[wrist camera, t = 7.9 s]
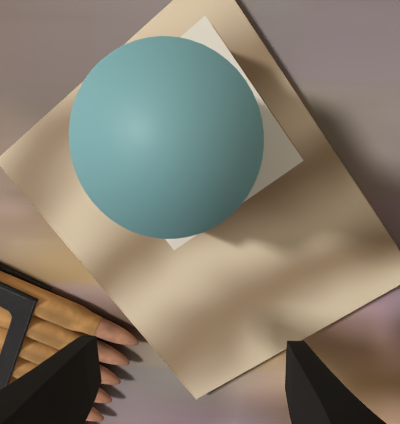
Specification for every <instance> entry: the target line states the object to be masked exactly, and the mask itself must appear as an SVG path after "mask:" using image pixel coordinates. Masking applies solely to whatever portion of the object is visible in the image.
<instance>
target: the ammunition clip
mask: <svg viewBox="0 0 400 424" xmlns="http://www.w3.org/2000/svg"><path fill="white" fill-rule="evenodd" d="M50 289H51V288H50V287H48V286H46V285H44V284H42V283H40V282H38V281H35V280H33V279H31V278H29V277H27V276H25V275H22V274H20V273H18V272H16V271H14V270H12V269H10V268H7V267H5V266H3V265H1V264H0V390H1V389H3V388H4V387H6V386H7V385H9V384H10V383H12V382H13V381H15V380H17V379H18V378H20V377H21V376H23V375H24V374H26V373H27V372H29V371H30V370H32V369H33V368H35V367H36V366H38V365H39V364H41V363H42V362H43V361H45V360H46V359H48V358H49V357H51V356H52V355H53V354H55V353H56V352H58V351H59V350H60V349H62V348H63V347H65V346H66V345H68V344H69V343H70V342H72V341H73V340H75V339H76V338H78V337H80V336H90V335H91V336H96V337H98V338H101V339H103V340H106V341H110V342H113V343H117V344H123V345H138V343H139V342H138V340H137V339H136V338H135V337H134V336H133V335H132V334H131V333H129V332H128V331H127V330H125V329H124V328H122V327H120V326H119V325H117V324H115V323H113V322H111V321H109V320H106V319H104V318H103V317H101V316H99V315H97V314H95V313H93V312H91V311H90V310H88V309H87V308H85V307H84V306H82V305H80V304H77V303H75V302H73V301H70V300H68V299H66V298H63V297H61V296H59V295H56V294H54V293H51V292H50ZM85 333H86V334H85ZM87 334H89V335H87ZM97 346H98V355H99V361H100V362H103V363H107V364H113V365H128V364H129V360H128V359H127V358H126V357H125V356H124V355H123V354H122V353H120V352H119V351H118V350H116V349H115V348H113V347H111V346H110V345H108V344H106V343H104V342H102V341H99V340H97ZM100 371H101V380H102V382H101V383H102V384H110V385H115V384H120V382H121V381H120V379H119V378H118V377H117V376H116V375H115V374H114V373H113V372H111V371H110V370H109V369H107V368H106V367H104V366H102V365H101V364H100ZM94 402H96V403H110V402H112V398H111V397H110V396H109V395H108V394H107V393H106V392H105V391H104V390H102V389H101V388H99V391H98V393H97V396H96V399H95V401H94ZM103 419H104V417H103V415H102V414H101V413H100V412H99V411H98V410H97V409H95V408H94V407H92V409H91V411H90V413H89V415H88V417H87V419H86V421H102V420H103Z"/></svg>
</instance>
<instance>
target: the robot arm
mask: <svg viewBox="0 0 400 424" xmlns="http://www.w3.org/2000/svg"><path fill="white" fill-rule="evenodd" d="M101 382H102V380H101V371H100V363H99V355H98V346H97V338H96V336H80V337H78V338H76V339H75V340H73V341H72V342H70V343H69V344H68V345H66V346H65V347H63V348H62V349H60V350H59V351H58V352H56V353H55V354H53V355H52V356H51V357H49V358H48V359H46V360H45V361H43V362H42V363H41V364H39V365H38V366H36V367H35V368H33V369H32V370H30V371H29V372H27V373H26V374H24V375H23V376H21V377H20V378H18V379H17V380H15V381H13V382H12V383H10V384H9V385H7V386H6V387H4V388H3V389H1V390H0V424H84V423H85V421H86V419H87V417H88V415H89V413H90V411H91V409H92V407H93V404H94V401H95V399H96V396H97V393H98V391H99V388H100V385H101ZM285 390H286V396H287V402H288V408H289V414H290V419H291V422H292V424H386V423H385V422H384V421H383V420H381V419H380V418H379V417H378V416H376V415H375V414H374V413H373V412H372V411H371V410H370V409H368V408H367V407H366V406H365V405H364V404H363V403H362V402H361V401H360V400H359V399H358V398H356V397H355V396H354V395H353V394H352V393H351V392H350V391H349V390H348V389H347V388H346V387H345V386H344V385H343V384H342V383H341V382H340V380H339V379H338V378H337V377H336V376H335V375H334V374H333V373H332V372H331V371H330V370H329V369H328V368H327V367H326V365H325V364H324V363H323V362H322V361H321V360H320V359H319V357H318V356H317V355H316V354H315V353H314V352H313V351H312V349H311V348H310V347H309V346H308V345H307V344H306V343H305V342H304V341H287V351H286V379H285Z"/></svg>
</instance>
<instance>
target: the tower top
mask: <svg viewBox="0 0 400 424" xmlns="http://www.w3.org/2000/svg"><path fill="white" fill-rule="evenodd" d="M180 38H185V39H189V40H192V41H195V42H198V43H201V44H203V45H205V46H207V47H209V48H211V49H213V50H214V51H216V52H218V53H219V54H220V55H222V56H223V57H224V58H226V59H227V60H228V61H229V62H230V63H231V64H232V65H233V66H234V67H235V68H236V69H237V70H238V71H239V72H240V74H241V75H242V76H243V78H244V79H245V80H246V82H247V83H248V85H249V87H250V88H251V90H252V92H253V94H254V96H255V99H256V101H257V104H258V106H259V110H260V113H261V117H262V123H263V130H264V150H263V158H262V163H261V167H260V170H259V174H258V176H257V179H256V181H255V184H254V186H253V187H252V189H251V191H250V193H249V195H248V196H247V198H246V199H245V200H244V202H245V201H246V200H248V199H249V198H250V197H252V196H253V195H255V194H256V193H258V192H259V191H261V190H262V189H263V188H265V187H266V186H268V185H269V184H271V183H272V182H273V181H275V180H276V179H278V178H279V177H281V176H282V175H284V174H285V173H286V172H288V171H289V170H291V169H292V168H294V167H295V166H297V165H298V164H299V163H301V162H302V161H304V160H303V159H302V157H301V156H300V154H299V153H298V151H297V150H296V149H295V147H294V146H293V144H292V143H291V141H290V140H289V138H288V137H287V135H286V134H285V132H284V131H283V129H282V128H281V126H280V125H279V123H278V122H277V121H276V119H275V118H274V116H273V115H272V113H271V112H270V110H269V109H268V107H267V106H266V104H265V103H264V101H263V100H262V98H261V97H260V95H259V94H258V93H257V91H256V90H255V88H254V87H253V85H252V84H251V82H250V81H249V79H248V78H247V76H246V75H245V73H244V72H243V70H242V69H241V67H240V66H239V65H238V63H237V62H236V60H235V59H234V57H233V56H232V54H231V53H230V51H229V50H228V48H227V47H226V45H225V44H224V42H223V41H222V39H221V38H220V37H219V35H218V34H217V32H216V31H215V29H214V28H213V26H212V25H211V23H210V22H209V20H208V19H207V17H206V16H204V17H203V18H202V19H200V20H199V21H198V22H197V23H196V24H195V25H193V26H192V27H191V28H190V29H189V30H188V31H187V32H185V33H184V34H183V35H182V36H181V37H180ZM194 236H196V235H194ZM194 236H190V237H185V238H178V239H165V240H166V241H167V242H168V243H169V245H170V246H171V247H172V249H173V250H176V249H177V248H178V247H180V246H181V245H183V244H184V243H186V242H187V241H189V240H190V239H191V238H193V237H194Z"/></svg>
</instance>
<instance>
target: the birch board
mask: <svg viewBox="0 0 400 424" xmlns="http://www.w3.org/2000/svg"><path fill="white" fill-rule="evenodd" d="M204 16H206V17H207V19H208V20H209V22H210V23H211V25H213V26H214V27H215V29H216V30H217V32H218V33H219V35H220V36H221V38H222V39H223V41H224V42H225V44H226V45H227V47H228V48H229V50H230V51H231V53H232V54H233V55H234V57H235V58H236V60H237V61H238V63H239V64H240V66H241V67H242V69H243V70H244V72H245V73H246V75H247V76H248V78H249V79H250V81H251V82H252V84H253V85H254V86H255V88H256V89H257V91H258V92H259V94H260V95H261V97H262V98H263V100H264V101H265V103H266V104H267V106H268V107H269V109H270V110H271V112H272V113H273V114H274V116H275V117H276V119H277V120H278V122H279V123H280V125H281V126H282V128H283V129H284V131H285V132H286V134H287V135H288V137H289V138H290V140H291V141H292V142H293V144H294V145H295V147H296V148H297V150H298V151H299V153H300V154H301V156H302V157H303V160H304V161H302V162H301V163H299V164H298V165H297V166H295V167H294V168H292V169H291V170H289V171H288V172H286V173H285V174H284V175H282V176H281V177H279V178H278V179H276V180H275V181H273V182H272V183H271V184H269V185H268V186H266V187H265V188H263V189H262V190H261V191H259V192H258V193H256V194H255V195H253V196H252V197H250V198H249V199H248V200H246V201H245V202H243V203H242V204H241V206H240V207H239V208H238V209H237V210H236V211H235V212H234V213H233V214H232V215H231V216H230V217H228V218H227V219H226V220H224V221H223V222H222V223H220V224H219V225H217V226H215V227H214V228H212V229H210V230H207V231H205V232H203V233H200V234H197V235H196V236H194V237H193V238H191V239H190V240H189V241H187V242H186V243H184V244H183V245H181V246H180V247H178V248H177V249H176V250H173V249H172V247H171V246H170V245H169V243H168V242H167V241H166V240H165V239H161V238H152V237H148V236H144V235H140V234H137V233H135V232H132V231H130V230H128V229H126V228H124V227H122V226H120V225H118V224H117V223H115V222H114V221H112V220H111V219H109V218H108V217H107V216H106V215H105V214H104V213H103V212H101V211H100V210H99V209H98V207H97V206H96V205H95V204H94V203H93V202H92V201H91V199H90V198H89V197H88V195H87V194H86V192H85V191H84V189H83V187H82V185H81V183H80V182H79V180H78V177H77V175H76V172H75V170H74V167H73V163H72V159H71V155H70V148H69V122H70V115H71V111H72V107H73V103H74V101H75V98H76V95H77V93H78V91H79V89H80V87H81V85H82V83H83V82H82V83H81V84H80V85H79V86H78V87H77V88H75V89H74V90H73V91H72V92H71V93H70V94H69V95H68V96H67V97H65V98H64V99H63V100H62V101H61V102H60V103H59V104H58V105H57V106H55V107H54V108H53V109H52V110H51V111H50V112H49V113H48V114H47V115H45V116H44V117H43V118H42V119H41V120H40V121H39V122H38V123H37V124H35V125H34V126H33V127H32V128H31V129H30V130H29V131H28V132H27V133H26V134H24V135H23V136H22V137H21V138H20V139H19V140H18V141H17V142H16V143H14V144H13V145H12V146H11V147H10V148H9V149H8V150H7V151H6V152H4V153H3V154H2V155H1V156H0V166H1V168H2V169H3V170H4V171H5V172H6V174H7V175H8V176H9V177H10V178H11V180H12V181H13V182H14V183H15V184H16V185H17V187H18V188H19V189H20V190H21V191H22V193H23V194H24V195H25V196H26V197H27V199H28V200H29V201H30V202H31V203H32V205H33V206H34V207H35V208H36V209H37V210H38V212H39V213H40V214H41V215H42V216H43V218H44V219H45V220H46V221H47V222H48V224H49V225H50V226H51V227H52V228H53V230H54V231H55V232H56V233H57V234H58V235H59V237H60V238H61V239H62V240H63V241H64V243H65V244H66V245H67V246H68V247H69V249H70V250H71V251H72V252H73V253H74V255H75V256H76V257H77V258H78V259H79V260H80V262H81V263H82V264H83V265H84V266H85V268H86V269H87V270H88V271H89V272H90V274H91V275H92V276H93V277H94V278H95V279H96V281H97V282H98V283H99V284H100V285H101V287H102V288H103V289H104V290H105V291H106V293H107V294H108V295H109V296H110V297H111V299H112V300H113V301H114V302H115V303H116V304H117V306H118V307H119V308H120V309H121V310H122V312H123V313H124V314H125V315H126V316H127V318H128V319H129V320H130V321H131V322H132V324H133V325H134V326H135V327H136V328H137V329H138V331H139V332H140V333H141V334H142V335H143V337H144V338H145V339H146V340H147V341H148V343H149V344H150V345H151V346H152V347H153V349H154V350H155V351H156V352H157V353H158V354H159V356H160V357H161V358H162V359H163V360H164V362H165V363H166V364H167V365H168V366H169V368H170V369H171V370H172V371H173V372H174V373H175V375H176V376H177V377H178V378H179V379H180V381H181V382H182V383H183V384H184V385H185V387H186V388H187V389H188V390H189V391H190V393H191V394H192V395H193V396H194V397H195V398H196V399H198V398H199V397H201V396H203V395H205V394H207V393H208V392H210V391H212V390H214V389H215V388H217V387H219V386H221V385H223V384H224V383H226V382H228V381H230V380H231V379H233V378H235V377H237V376H239V375H240V374H242V373H244V372H246V371H247V370H249V369H251V368H253V367H255V366H256V365H258V364H260V363H262V362H264V361H265V360H267V359H269V358H271V357H272V356H274V355H276V354H278V353H280V352H281V351H283V350H285V349H287V341H301V340H303V339H304V338H306V337H308V336H310V335H312V334H313V333H315V332H317V331H319V330H320V329H322V328H324V327H326V326H328V325H329V324H331V323H333V322H335V321H336V320H338V319H340V318H342V317H344V316H345V315H347V314H349V313H351V312H352V311H354V310H356V309H358V308H360V307H361V306H363V305H365V304H367V303H368V302H370V301H372V300H374V299H376V298H377V297H379V296H381V295H383V294H385V293H386V292H388V291H390V290H392V289H393V288H395V287H397V286H399V285H400V250H399V248H398V247H397V245H396V244H395V242H394V241H393V239H392V238H391V236H390V235H389V233H388V232H387V230H386V229H385V227H384V226H383V224H382V223H381V221H380V220H379V218H378V217H377V215H376V214H375V212H374V211H373V209H372V207H371V206H370V204H369V203H368V201H367V200H366V198H365V197H364V195H363V194H362V192H361V191H360V189H359V188H358V186H357V185H356V183H355V182H354V180H353V179H352V177H351V176H350V174H349V173H348V171H347V170H346V168H345V167H344V165H343V164H342V162H341V160H340V159H339V157H338V156H337V154H336V153H335V151H334V150H333V148H332V147H331V145H330V144H329V142H328V141H327V139H326V138H325V136H324V135H323V133H322V132H321V130H320V129H319V127H318V126H317V124H316V123H315V121H314V120H313V118H312V117H311V115H310V113H309V112H308V110H307V109H306V107H305V106H304V104H303V103H302V101H301V100H300V98H299V97H298V95H297V94H296V92H295V91H294V89H293V88H292V86H291V85H290V83H289V82H288V80H287V79H286V77H285V76H284V74H283V73H282V71H281V70H280V68H279V66H278V65H277V63H276V62H275V60H274V59H273V57H272V56H271V54H270V53H269V51H268V50H267V48H266V47H265V45H264V44H263V42H262V41H261V39H260V38H259V36H258V35H257V33H256V32H255V30H254V29H253V27H252V26H251V24H250V22H249V21H248V19H247V18H246V16H245V15H244V13H243V12H242V10H241V9H240V7H239V6H238V4H237V3H236V1H235V0H173V1H172V2H171V3H170V4H168V5H167V6H166V7H165V8H164V9H163V10H162V11H161V12H160V13H159V14H157V15H156V16H155V17H154V18H153V19H152V20H151V21H150V22H149V23H147V24H146V25H145V26H144V27H143V28H142V29H141V30H140V31H139V32H137V33H136V34H135V35H134V36H133V37H132V38H131V39H130V40H129V41H127V42H126V43H125V44H127V43H130V42H133V41H135V40H139V39H143V38H147V37H156V36H172V37H181V36H182V35H183V34H184V33H185V32H187V31H188V30H189V29H190V28H191V27H192V26H193V25H195V24H196V23H197V22H198V21H199V20H200V19H202V18H203V17H204ZM125 44H124V45H125Z"/></svg>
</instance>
